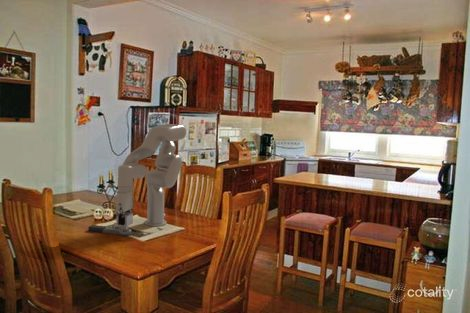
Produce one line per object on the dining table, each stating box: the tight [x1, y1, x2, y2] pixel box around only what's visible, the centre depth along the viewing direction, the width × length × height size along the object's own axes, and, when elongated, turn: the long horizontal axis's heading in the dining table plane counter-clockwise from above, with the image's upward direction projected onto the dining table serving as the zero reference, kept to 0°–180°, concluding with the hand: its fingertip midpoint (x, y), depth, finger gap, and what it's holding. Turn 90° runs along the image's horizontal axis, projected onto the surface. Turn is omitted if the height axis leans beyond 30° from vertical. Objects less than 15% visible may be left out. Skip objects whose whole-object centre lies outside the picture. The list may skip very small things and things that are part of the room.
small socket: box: [113, 222, 122, 229], centre depth 205 cm, size 4×4×4 cm
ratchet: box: [87, 224, 133, 237], centre depth 199 cm, size 6×24×6 cm, turn 77°
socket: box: [115, 211, 134, 227], centre depth 196 cm, size 6×6×6 cm
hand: (124, 222), depth 197 cm, fingers closed on socket, 6 cm apart
